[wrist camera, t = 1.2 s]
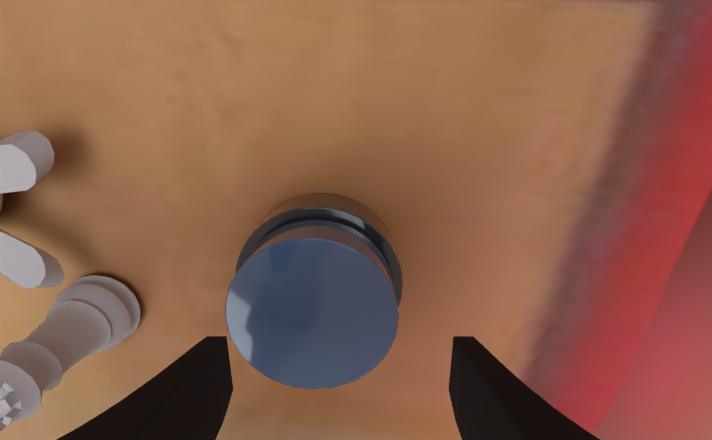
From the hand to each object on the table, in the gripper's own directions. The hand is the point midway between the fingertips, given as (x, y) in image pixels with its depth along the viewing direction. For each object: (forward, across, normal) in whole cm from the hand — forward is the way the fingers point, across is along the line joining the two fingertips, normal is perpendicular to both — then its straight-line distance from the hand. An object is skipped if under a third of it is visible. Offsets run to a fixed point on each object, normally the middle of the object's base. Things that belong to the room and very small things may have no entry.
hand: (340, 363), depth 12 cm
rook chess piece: (+10, +15, +4) cm, 18 cm away
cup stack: (+10, +2, +1) cm, 10 cm away
